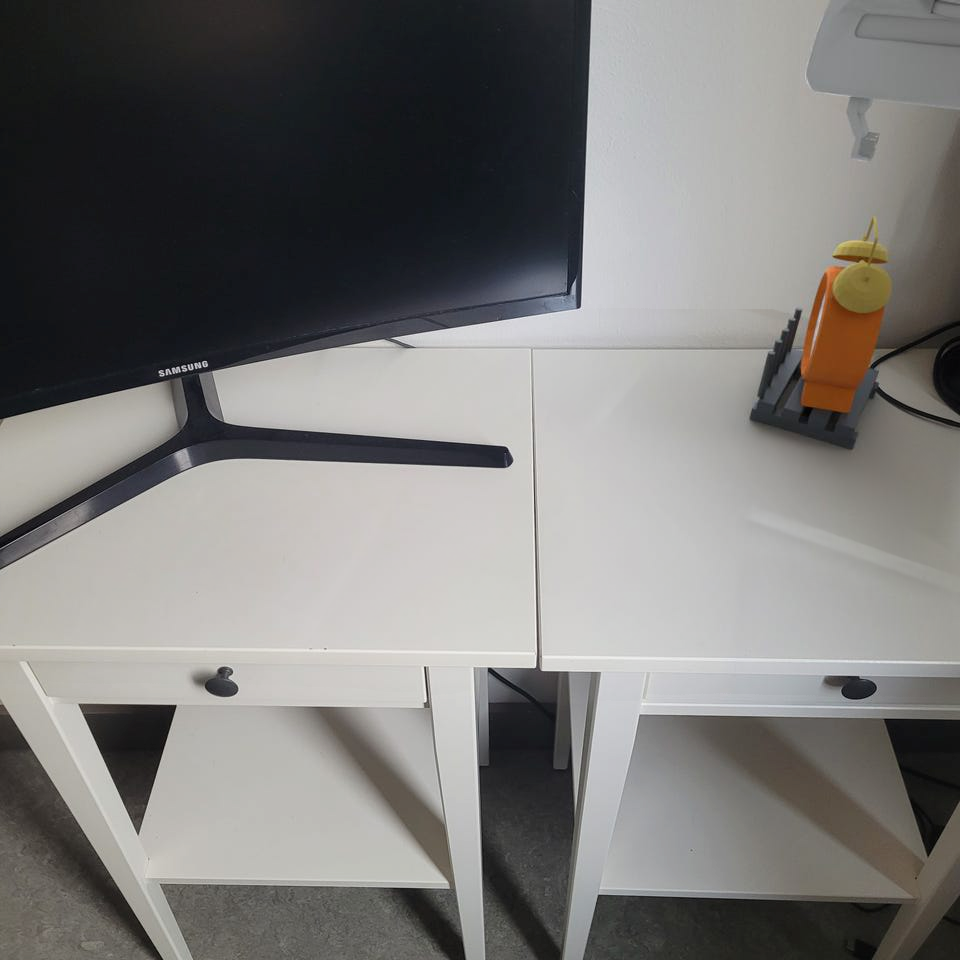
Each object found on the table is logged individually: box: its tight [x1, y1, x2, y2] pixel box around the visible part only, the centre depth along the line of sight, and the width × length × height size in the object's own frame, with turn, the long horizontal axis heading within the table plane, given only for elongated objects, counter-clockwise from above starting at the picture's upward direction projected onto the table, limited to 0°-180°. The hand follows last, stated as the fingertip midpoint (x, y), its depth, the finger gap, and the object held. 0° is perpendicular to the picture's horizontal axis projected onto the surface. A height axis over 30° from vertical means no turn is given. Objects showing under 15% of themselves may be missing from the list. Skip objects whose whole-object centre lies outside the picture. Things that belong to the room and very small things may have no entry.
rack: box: [749, 307, 880, 450], centre depth 98 cm, size 12×14×9 cm
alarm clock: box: [801, 215, 893, 413], centre depth 92 cm, size 13×6×20 cm, turn 162°
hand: (926, 168), depth 62 cm, fingers open, 8 cm apart
